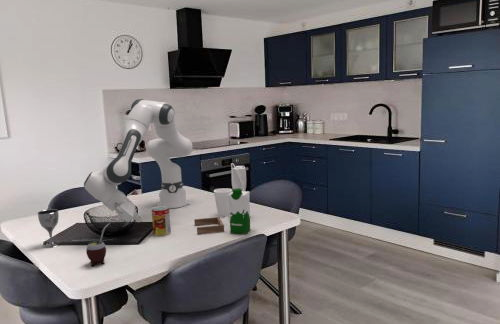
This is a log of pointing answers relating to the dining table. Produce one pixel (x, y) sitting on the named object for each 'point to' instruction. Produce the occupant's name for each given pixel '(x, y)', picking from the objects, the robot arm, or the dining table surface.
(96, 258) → the mate gourd
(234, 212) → the milk carton
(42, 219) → the wine glass
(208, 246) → the dining table surface
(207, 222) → the wooden tray
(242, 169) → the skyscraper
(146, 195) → the dining table surface
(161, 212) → the canned food
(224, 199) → the foam cup
